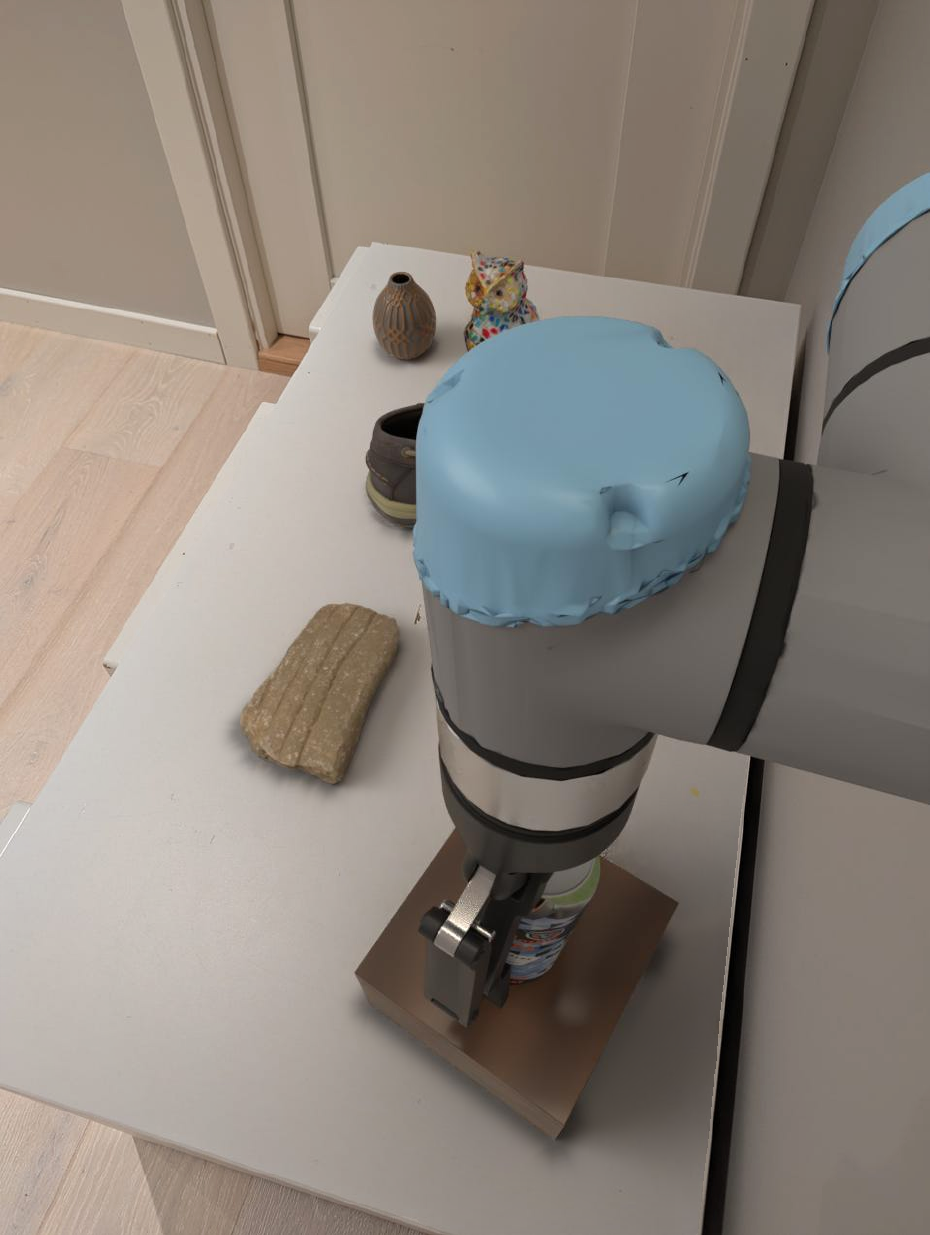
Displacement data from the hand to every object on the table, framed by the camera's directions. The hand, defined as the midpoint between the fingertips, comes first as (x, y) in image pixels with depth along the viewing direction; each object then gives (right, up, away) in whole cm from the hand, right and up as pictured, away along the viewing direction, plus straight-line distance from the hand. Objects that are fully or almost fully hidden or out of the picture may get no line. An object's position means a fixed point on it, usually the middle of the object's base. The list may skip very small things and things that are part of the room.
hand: (521, 926), depth 49 cm
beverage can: (0, 0, +1) cm, 1 cm away
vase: (-10, +48, +48) cm, 68 cm away
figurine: (+1, +42, +43) cm, 60 cm away
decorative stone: (-14, +11, +21) cm, 28 cm away
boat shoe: (+2, +31, +35) cm, 47 cm away
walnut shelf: (0, -6, +8) cm, 10 cm away
